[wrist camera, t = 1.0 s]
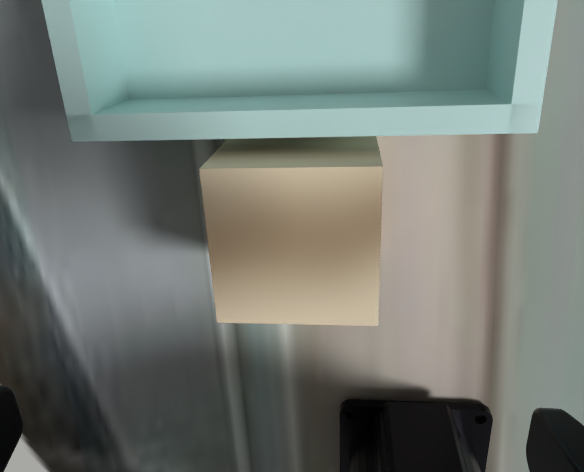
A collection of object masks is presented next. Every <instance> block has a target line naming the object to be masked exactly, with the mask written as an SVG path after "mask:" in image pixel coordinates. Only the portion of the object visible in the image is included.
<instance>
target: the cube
mask: <svg viewBox="0 0 584 472" xmlns="http://www.w3.org/2000/svg"><path fill="white" fill-rule="evenodd" d="M199 172H200V180H201V189H202V197H203V206H204V214H205V223H206V231H207V240H208V248H209V257H210V265H211V274H212V282H213V290H214V299H215V307H216V316H217V323H257V324H307V325H357V326H378V313H379V280H380V247H381V214H382V181H383V165H382V160H381V156H380V151H379V147H378V143H377V138H376V136H352V137H300V138H248V139H227V140H226V141H225V142H224V143H223V144H222V145H221V146H220V147H219V148H218V149H217V150H216V151H215V153H214V154H213V155H212V156H211V157H210V158H209V159H208V160H207V161H206V162H205V163H204V164H203V165H202V166H201V167H200V168H199Z"/></svg>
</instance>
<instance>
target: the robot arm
mask: <svg viewBox="0 0 584 472" xmlns="http://www.w3.org/2000/svg"><path fill="white" fill-rule="evenodd" d="M348 410H353V411H355V412H353V413H350V412H348ZM478 415H483V416H482V417H479V418H477V417H476V416H478ZM492 421H493V419H492V415H491V412H490V409H489V408H488V407H487V406H485V405H482V404H466V403H438V402H410V401H382V400H355V399H350V400H346V401H344V402H342V404H341V406H340V472H485V469H486V462H487V455H488V448H489V441H490V435H491V428H492ZM22 431H23V419H22V416H21V412H20V409H19V406H18V403H17V400H16V396H15V393H14V391H13V390H12V389H11V388H10V387H8V386H0V472H4V470H5V468H6V466H7V464H8V461H9V459H10V458H11V455H12V453H13V451H14V449H15V447H16V445H17V443H18V441H19V439H20V437H21V434H22ZM526 457H527V462H528V467H529V471H530V472H584V426H583V425H582V424H581V423H580V422H578V421H577V420H576V419H575V418H573V417H572V416H571V415H569V414H568V413H567V412H565V411H564V410H562V409H553V408H537V409H536V410H534V412H533V414H532V419H531V424H530V429H529V435H528V440H527V445H526Z"/></svg>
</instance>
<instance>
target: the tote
mask: <svg viewBox="0 0 584 472" xmlns="http://www.w3.org/2000/svg"><path fill="white" fill-rule="evenodd" d="M41 1H42V5H43V10H44V15H45V19H46V24H47V29H48V33H49V38H50V43H51V47H52V52H53V57H54V61H55V66H56V70H57V75H58V80H59V84H60V89H61V94H62V98H63V103H64V108H65V112H66V117H67V122H68V126H69V131H70V136H71V140H72V142H92V141H144V140H196V139H248V138H300V137H352V136H404V135H456V134H508V133H538V128H539V121H540V115H541V108H542V101H543V95H544V88H545V81H546V75H547V68H548V61H549V55H550V48H551V41H552V35H553V28H554V21H555V15H556V8H557V1H558V0H41Z"/></svg>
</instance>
